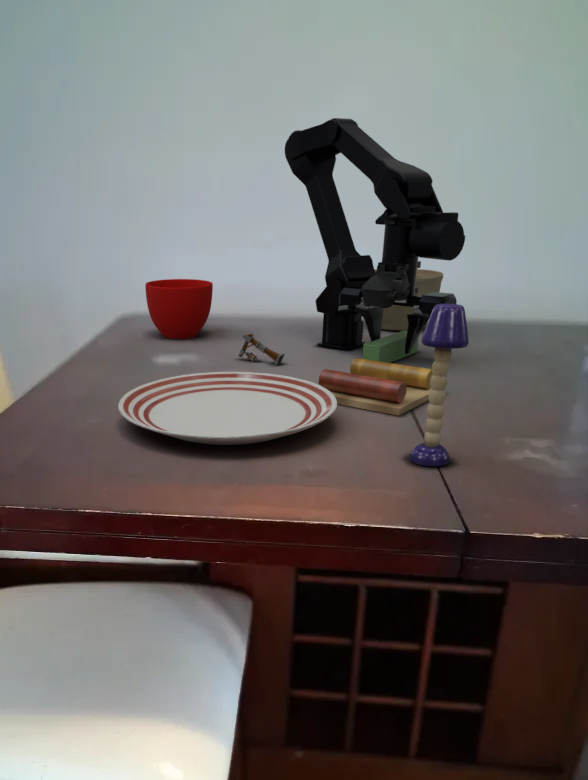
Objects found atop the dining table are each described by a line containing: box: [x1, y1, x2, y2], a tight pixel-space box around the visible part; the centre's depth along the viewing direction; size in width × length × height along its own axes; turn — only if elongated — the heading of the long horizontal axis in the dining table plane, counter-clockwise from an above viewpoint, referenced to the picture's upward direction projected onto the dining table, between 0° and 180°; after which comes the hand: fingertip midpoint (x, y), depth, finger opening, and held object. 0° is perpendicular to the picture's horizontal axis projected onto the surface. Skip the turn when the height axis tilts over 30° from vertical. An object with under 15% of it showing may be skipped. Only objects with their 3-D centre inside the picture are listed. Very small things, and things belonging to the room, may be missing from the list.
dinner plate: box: [117, 371, 338, 446], centre depth 94 cm, size 27×27×3 cm
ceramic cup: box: [144, 278, 214, 340], centre depth 146 cm, size 13×17×10 cm
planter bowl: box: [374, 268, 444, 331], centre depth 151 cm, size 16×16×11 cm
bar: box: [361, 330, 420, 363], centre depth 127 cm, size 3×15×4 cm, turn 141°
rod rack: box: [318, 357, 433, 417], centre depth 105 cm, size 14×14×4 cm
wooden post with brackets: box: [238, 332, 286, 366], centre depth 125 cm, size 2×8×4 cm, turn 58°
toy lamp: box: [409, 303, 469, 467], centre depth 79 cm, size 5×5×17 cm
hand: (391, 351), depth 127 cm, fingers open, 6 cm apart
